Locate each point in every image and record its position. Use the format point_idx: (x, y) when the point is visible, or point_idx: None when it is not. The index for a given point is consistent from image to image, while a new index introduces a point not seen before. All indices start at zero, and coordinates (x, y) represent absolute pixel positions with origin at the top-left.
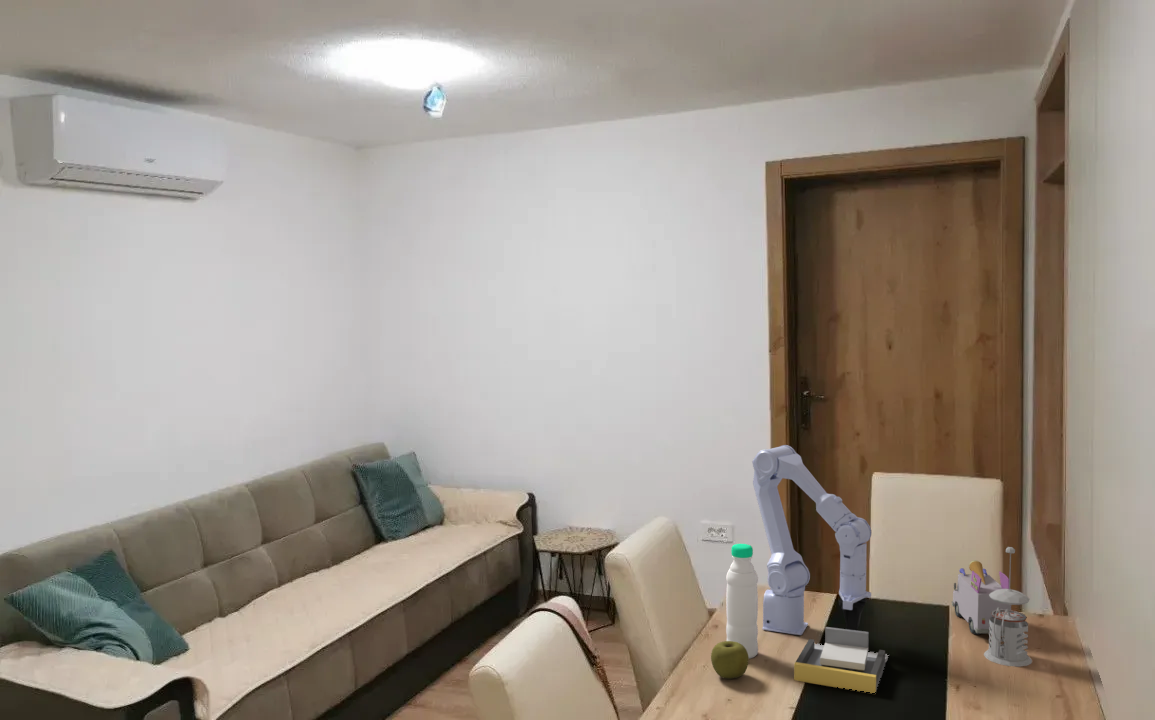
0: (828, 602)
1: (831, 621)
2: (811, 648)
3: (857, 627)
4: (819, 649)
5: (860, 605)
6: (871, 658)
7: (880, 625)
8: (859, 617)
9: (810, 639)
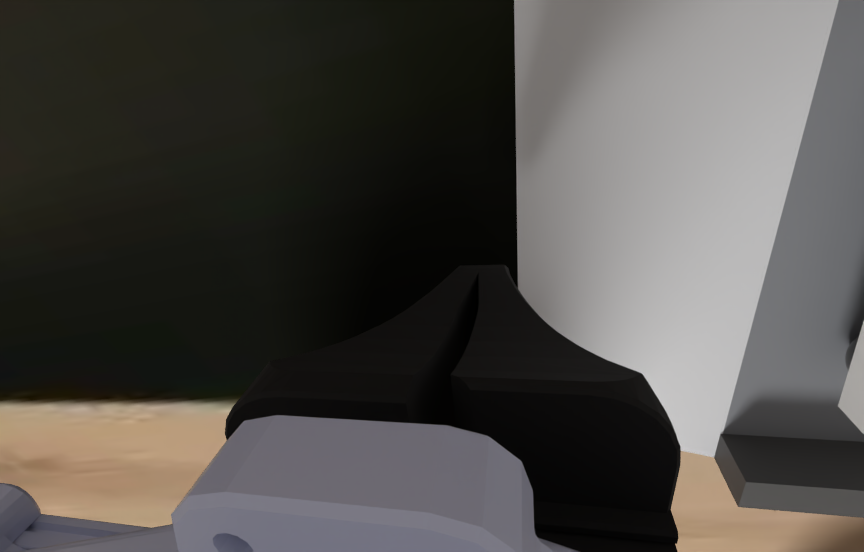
0: (14, 419)
1: (196, 386)
2: (849, 469)
3: (510, 276)
4: (731, 410)
5: (630, 448)
6: (856, 39)
7: (55, 159)
8: (527, 316)
9: (746, 500)
